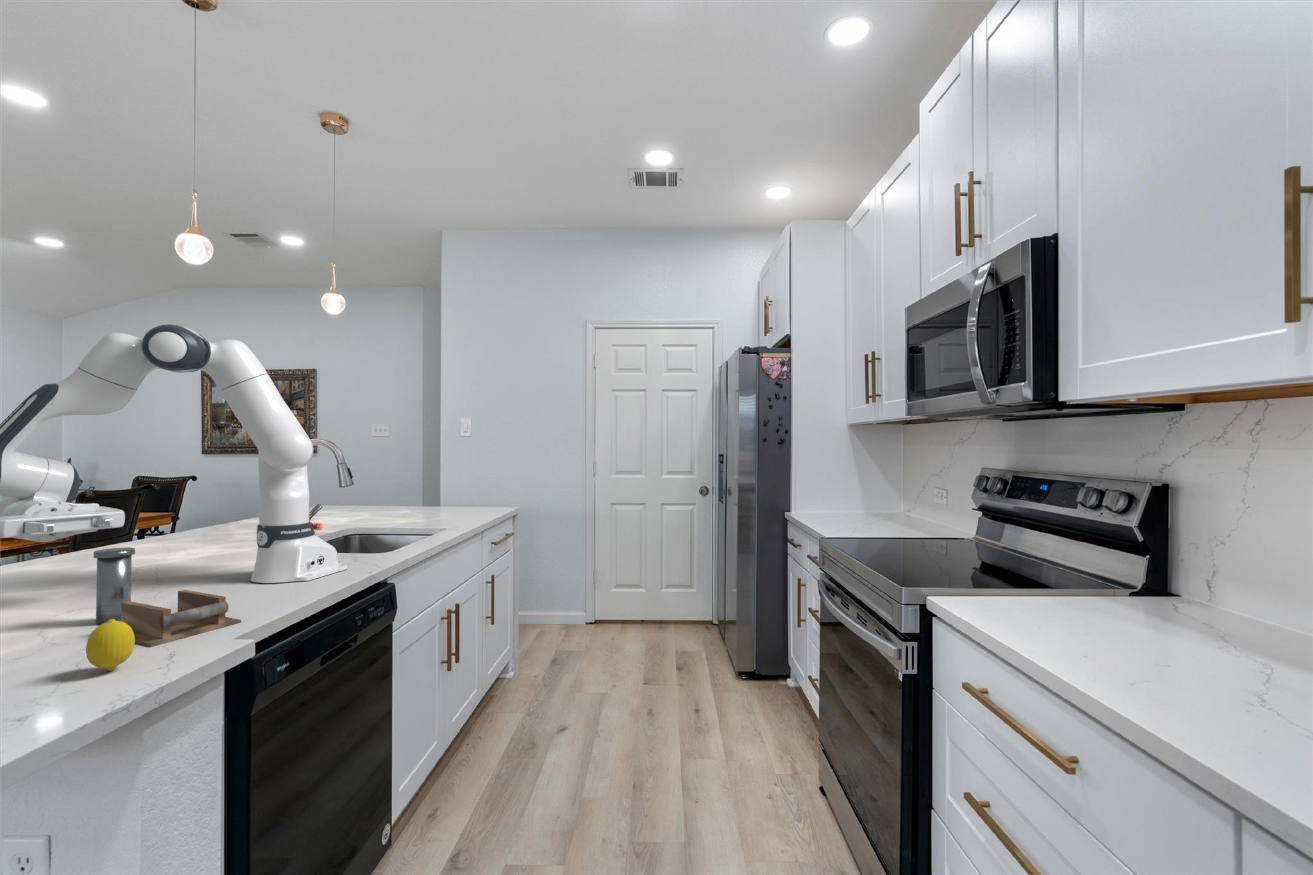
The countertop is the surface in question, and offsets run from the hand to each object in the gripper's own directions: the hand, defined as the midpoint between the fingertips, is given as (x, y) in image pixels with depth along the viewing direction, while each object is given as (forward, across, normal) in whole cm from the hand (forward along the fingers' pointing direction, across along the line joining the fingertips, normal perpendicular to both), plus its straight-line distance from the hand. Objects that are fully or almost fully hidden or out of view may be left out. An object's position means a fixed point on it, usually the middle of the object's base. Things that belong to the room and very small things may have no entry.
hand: (79, 525), depth 119 cm
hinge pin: (+12, 0, +18) cm, 22 cm away
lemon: (+42, -14, +18) cm, 48 cm away
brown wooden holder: (+28, +2, +18) cm, 34 cm away
